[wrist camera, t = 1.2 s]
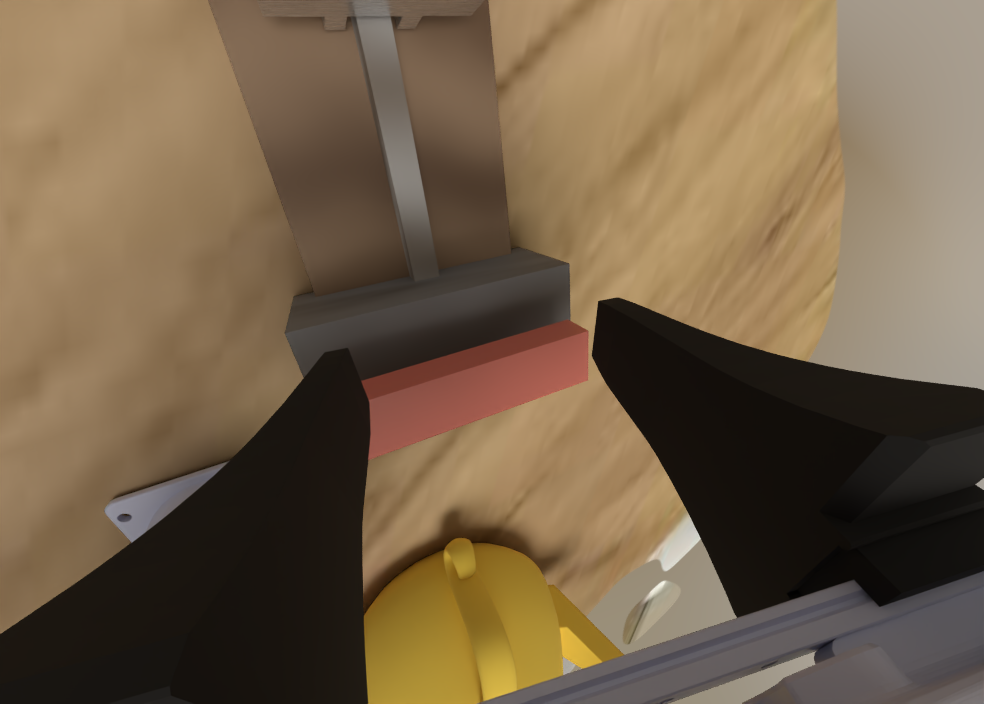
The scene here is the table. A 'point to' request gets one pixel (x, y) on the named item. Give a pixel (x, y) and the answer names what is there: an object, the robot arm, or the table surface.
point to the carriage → (367, 10)
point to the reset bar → (473, 384)
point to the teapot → (473, 629)
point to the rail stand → (390, 184)
